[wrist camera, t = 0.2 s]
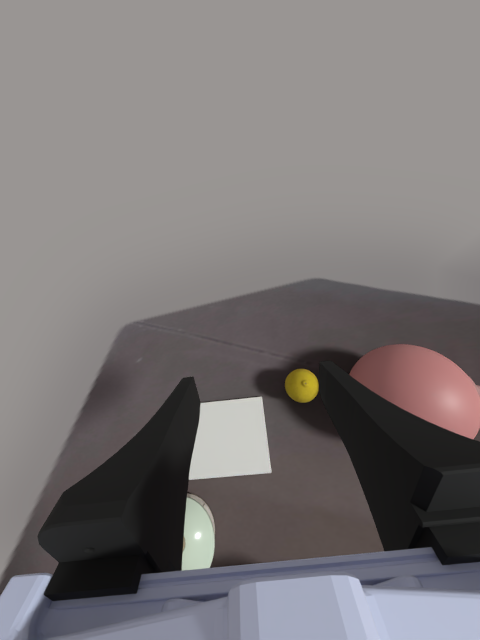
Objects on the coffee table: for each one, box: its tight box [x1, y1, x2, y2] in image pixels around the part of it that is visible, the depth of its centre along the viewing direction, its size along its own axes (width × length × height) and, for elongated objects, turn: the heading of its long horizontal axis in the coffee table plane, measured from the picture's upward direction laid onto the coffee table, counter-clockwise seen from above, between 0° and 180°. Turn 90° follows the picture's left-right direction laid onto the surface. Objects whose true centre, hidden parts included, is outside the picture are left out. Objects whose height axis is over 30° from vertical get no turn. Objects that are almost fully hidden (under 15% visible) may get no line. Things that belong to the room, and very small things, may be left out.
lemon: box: [285, 369, 319, 403], centre depth 38 cm, size 6×6×8 cm
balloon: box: [349, 344, 480, 439], centre depth 32 cm, size 15×20×15 cm
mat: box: [189, 397, 271, 480], centre depth 40 cm, size 12×14×1 cm
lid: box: [182, 497, 215, 571], centre depth 32 cm, size 11×11×3 cm
